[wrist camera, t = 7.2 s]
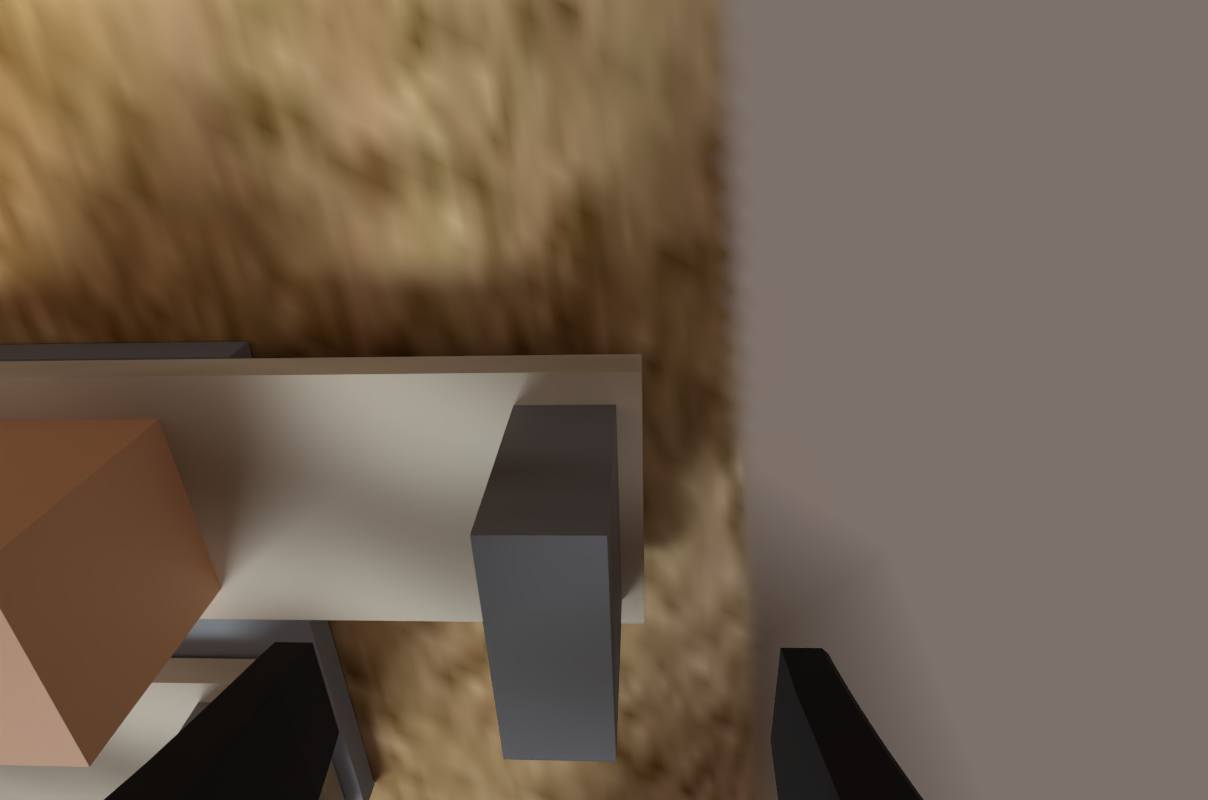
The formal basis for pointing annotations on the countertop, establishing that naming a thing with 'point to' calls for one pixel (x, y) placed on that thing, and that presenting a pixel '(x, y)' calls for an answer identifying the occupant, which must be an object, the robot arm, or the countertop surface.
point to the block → (89, 580)
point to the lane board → (237, 633)
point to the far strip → (139, 736)
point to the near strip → (410, 503)
